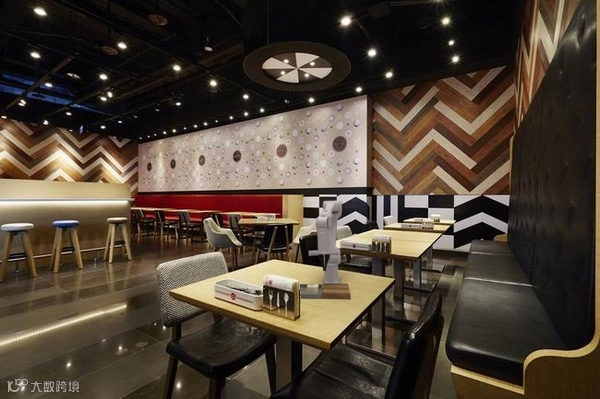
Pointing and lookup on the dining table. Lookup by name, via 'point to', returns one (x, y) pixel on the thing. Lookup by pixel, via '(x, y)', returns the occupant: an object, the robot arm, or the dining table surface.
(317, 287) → the tile
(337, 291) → the plate
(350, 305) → the dining table surface
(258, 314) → the dining table surface
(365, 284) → the dining table surface
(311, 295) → the tray
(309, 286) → the tile
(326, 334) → the dining table surface
